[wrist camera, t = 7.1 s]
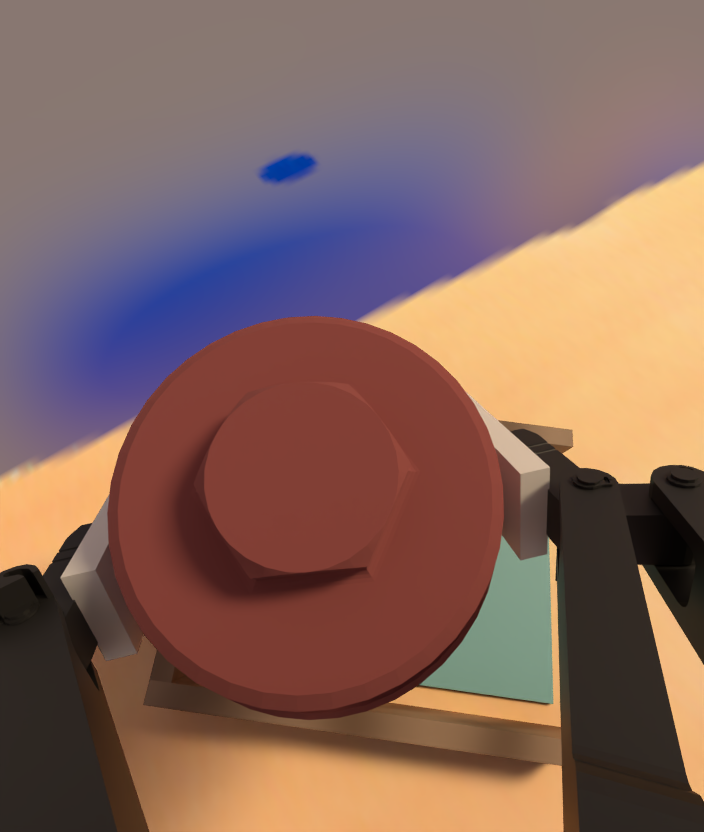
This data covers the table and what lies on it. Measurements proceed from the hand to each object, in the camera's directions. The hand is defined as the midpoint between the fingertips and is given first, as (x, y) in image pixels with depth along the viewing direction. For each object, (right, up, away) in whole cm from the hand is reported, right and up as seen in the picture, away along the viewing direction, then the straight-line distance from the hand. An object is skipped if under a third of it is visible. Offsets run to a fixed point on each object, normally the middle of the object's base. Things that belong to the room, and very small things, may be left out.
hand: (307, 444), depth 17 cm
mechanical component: (+1, -4, +3) cm, 6 cm away
